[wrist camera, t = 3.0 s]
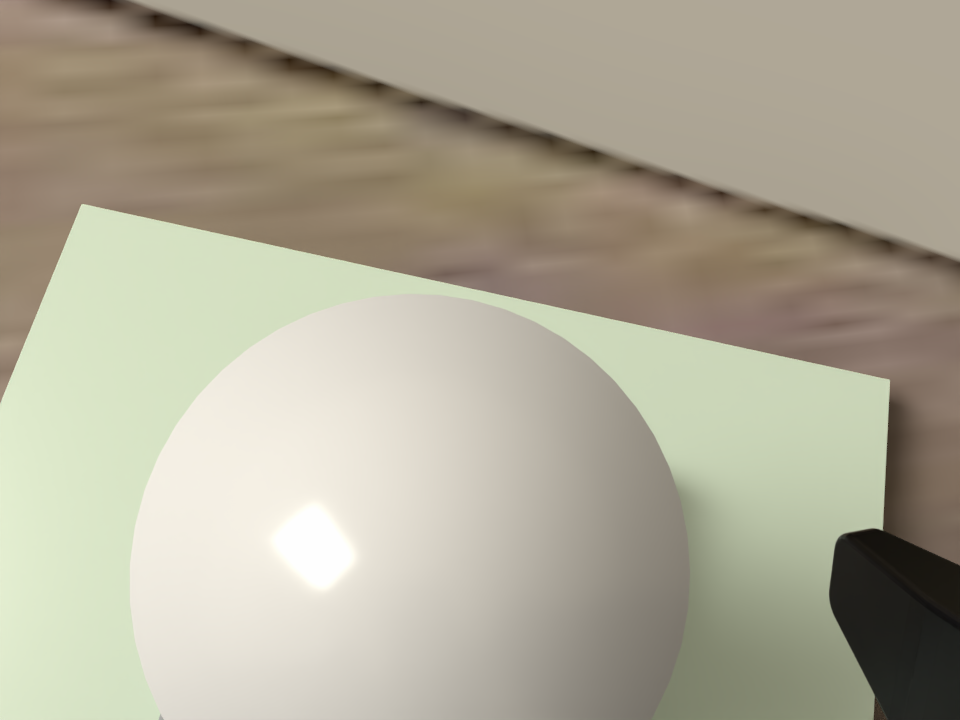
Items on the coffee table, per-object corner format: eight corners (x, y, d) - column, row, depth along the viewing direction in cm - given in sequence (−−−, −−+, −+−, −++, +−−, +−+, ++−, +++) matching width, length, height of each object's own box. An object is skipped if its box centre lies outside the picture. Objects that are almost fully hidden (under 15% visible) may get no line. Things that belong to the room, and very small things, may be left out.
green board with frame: (868, 393, 20) (927, 356, 18) (825, 1138, 16) (898, 1219, 13) (97, 225, 20) (56, 167, 18) (-180, 919, 16) (-284, 963, 13)
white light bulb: (557, 522, 18) (718, 353, 9) (512, 781, 16) (651, 923, 7) (323, 471, 18) (226, 245, 9) (255, 725, 16) (42, 791, 7)
